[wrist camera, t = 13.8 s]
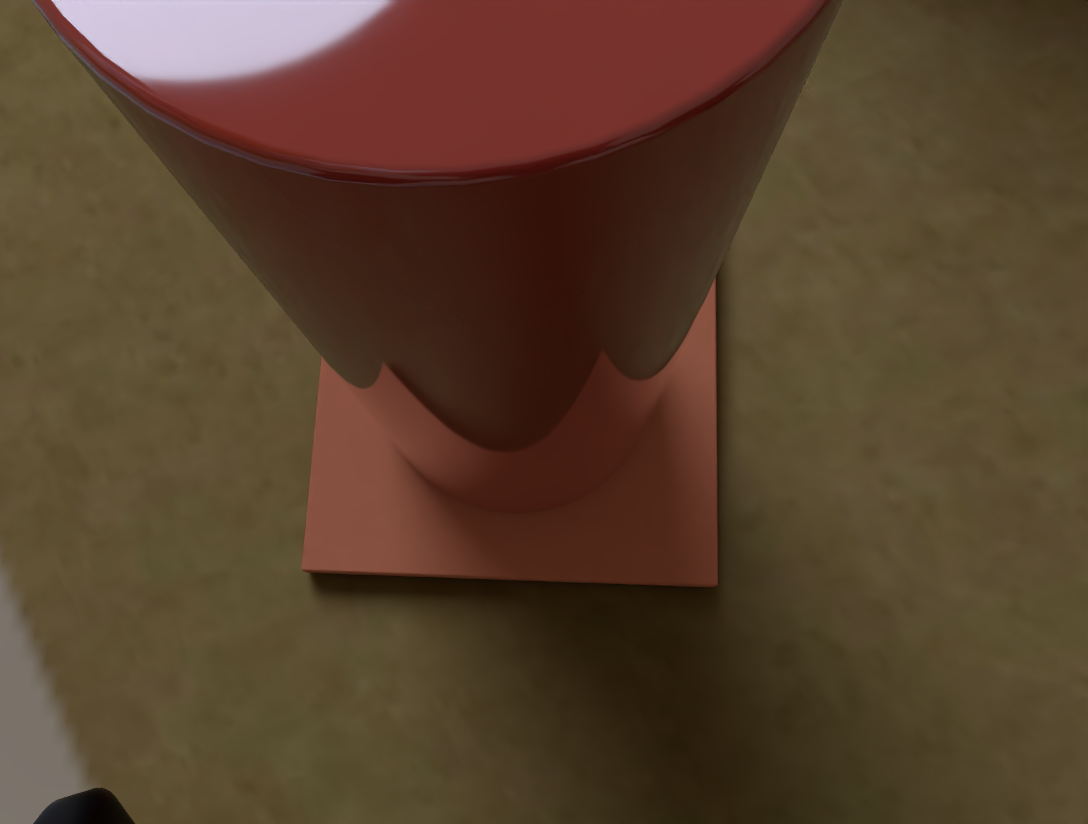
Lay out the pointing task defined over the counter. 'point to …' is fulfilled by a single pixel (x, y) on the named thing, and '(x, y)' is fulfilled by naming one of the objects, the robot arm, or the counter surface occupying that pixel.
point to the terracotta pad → (525, 538)
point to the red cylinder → (471, 196)
